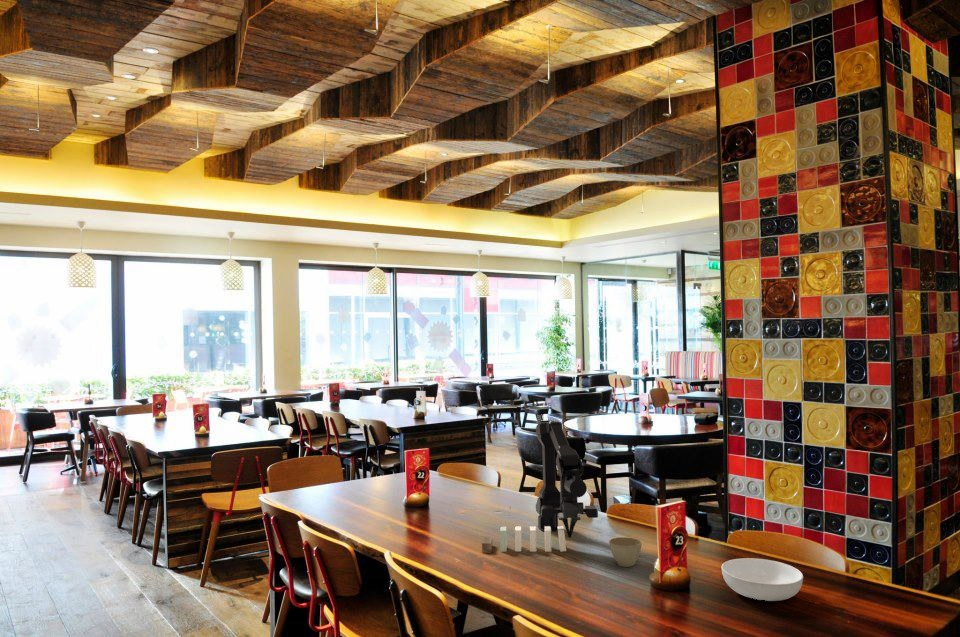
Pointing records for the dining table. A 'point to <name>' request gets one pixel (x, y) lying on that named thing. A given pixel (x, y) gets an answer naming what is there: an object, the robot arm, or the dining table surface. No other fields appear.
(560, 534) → the domino
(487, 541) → the end block
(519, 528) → the domino
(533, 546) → the domino
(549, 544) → the domino
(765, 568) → the serving bowl
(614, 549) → the flower pot
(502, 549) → the domino sage
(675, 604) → the dining table surface
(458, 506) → the dining table surface
